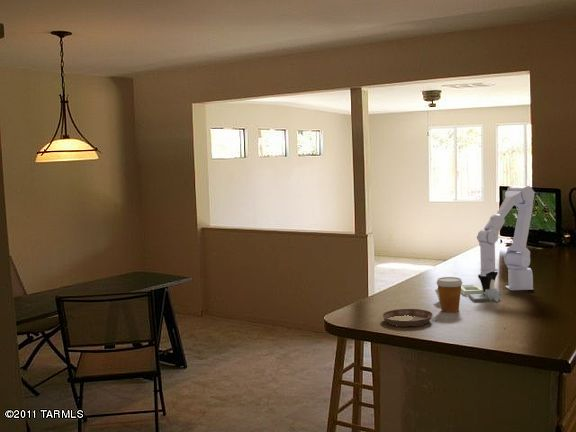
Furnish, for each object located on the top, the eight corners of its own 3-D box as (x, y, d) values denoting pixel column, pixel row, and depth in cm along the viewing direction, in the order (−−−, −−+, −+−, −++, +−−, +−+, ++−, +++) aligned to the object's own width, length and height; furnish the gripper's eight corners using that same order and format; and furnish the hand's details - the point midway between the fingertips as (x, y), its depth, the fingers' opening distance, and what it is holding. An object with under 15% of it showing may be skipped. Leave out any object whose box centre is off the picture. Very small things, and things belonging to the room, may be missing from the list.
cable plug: (496, 297, 244) (496, 289, 244) (503, 301, 236) (502, 293, 236) (485, 297, 245) (485, 289, 244) (491, 302, 236) (491, 293, 236)
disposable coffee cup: (445, 314, 221) (444, 282, 220) (432, 309, 230) (431, 278, 229) (468, 311, 224) (467, 280, 223) (454, 306, 233) (453, 275, 232)
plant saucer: (372, 324, 214) (371, 315, 214) (401, 314, 226) (401, 306, 226) (414, 332, 201) (413, 323, 201) (442, 320, 214) (442, 312, 213)
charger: (491, 292, 253) (491, 277, 253) (494, 294, 249) (494, 278, 249) (482, 292, 254) (481, 277, 253) (484, 295, 250) (484, 279, 249)
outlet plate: (476, 289, 262) (476, 284, 261) (483, 295, 250) (483, 290, 250) (457, 289, 262) (457, 285, 262) (464, 295, 250) (464, 290, 250)
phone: (483, 296, 247) (483, 293, 247) (489, 301, 238) (489, 298, 238) (468, 297, 247) (468, 294, 247) (474, 302, 238) (474, 299, 238)
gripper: (492, 261, 242) (493, 294, 243) (502, 256, 254) (502, 287, 255) (475, 260, 246) (475, 293, 247) (485, 255, 258) (485, 286, 259)
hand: (488, 290), depth 251 cm, fingers open, 6 cm apart
